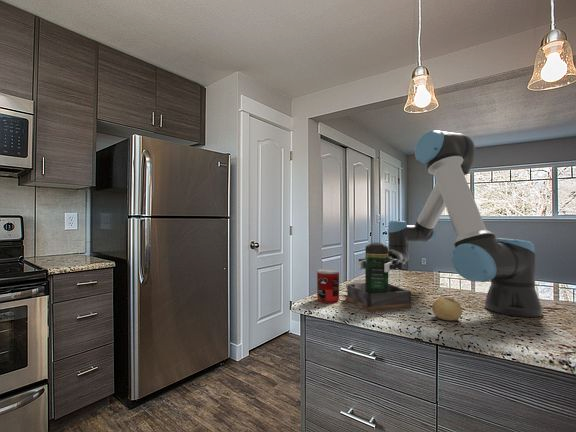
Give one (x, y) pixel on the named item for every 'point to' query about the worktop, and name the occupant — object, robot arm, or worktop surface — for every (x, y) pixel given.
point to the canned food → (328, 285)
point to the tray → (379, 298)
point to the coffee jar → (376, 268)
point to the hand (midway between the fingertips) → (372, 267)
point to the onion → (447, 308)
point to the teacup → (358, 284)
